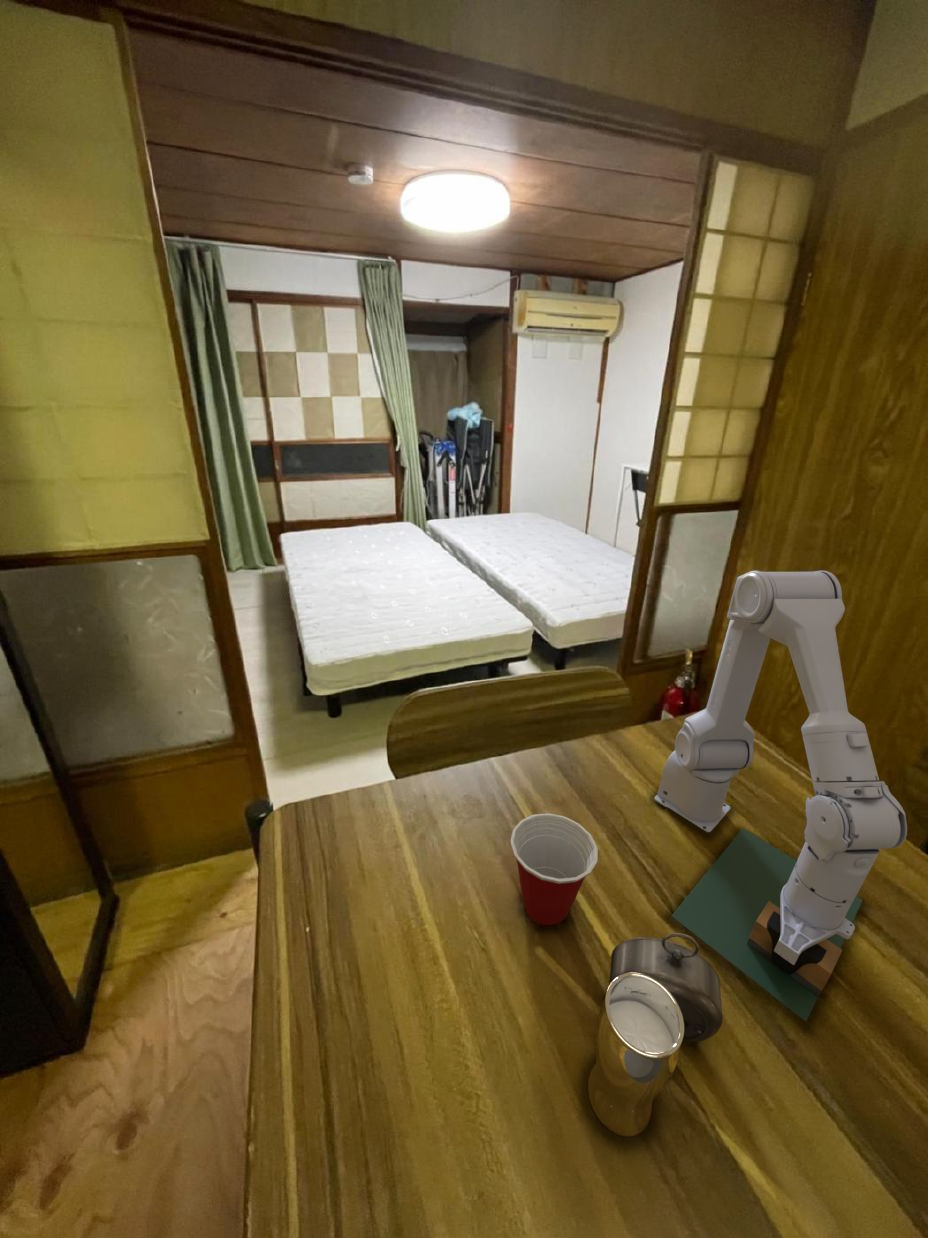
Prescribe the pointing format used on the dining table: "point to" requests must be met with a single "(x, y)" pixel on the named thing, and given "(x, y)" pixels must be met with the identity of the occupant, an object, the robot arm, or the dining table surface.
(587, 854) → the plastic cup
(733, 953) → the chalkboard
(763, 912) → the eraser
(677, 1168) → the dining table surface
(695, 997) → the alarm clock
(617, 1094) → the beer glass
